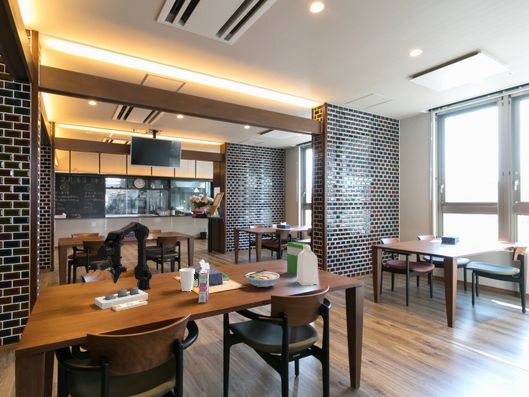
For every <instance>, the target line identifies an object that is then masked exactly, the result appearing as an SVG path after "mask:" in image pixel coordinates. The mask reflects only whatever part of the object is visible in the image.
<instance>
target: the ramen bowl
mask: <svg viewBox="0 0 529 397" xmlns="http://www.w3.org/2000/svg"><path fill="white" fill-rule="evenodd" d="M280 276H281V275H280V274H279V273H278V272H277V273H276V272H273V271H268V269H265V268H264V269H262V270H258V271H252V272H248V273H246V274H245V275H243V278H246V280H247V281H248V282H249V283H250V284H251V285H252V286H255V287H257V288H259V287H266V288H268V287H271V286H273V285H275V284H276V283H277V282H278V280H279V279H280Z"/></svg>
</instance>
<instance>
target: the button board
mask: <svg viewBox="0 0 529 397" xmlns="http://www.w3.org/2000/svg"><path fill="white" fill-rule="evenodd" d="M112 295H114V299H111V300H105V296H106V295H104V296H99V297H95V298H94V304H95V305H96V306H97V307H99V308H100V309H101V310H105V309H111V308H112V306H115V305H119V304H124V303H128V302H133V301H137V300H142V299H143V300H148V299H149V293H147V292H145V291H144V290H138V294H136V295H130V290H129V291H127V296H126V297H121V298H119V297H118V293H114V294H112Z"/></svg>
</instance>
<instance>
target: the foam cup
mask: <svg viewBox="0 0 529 397" xmlns="http://www.w3.org/2000/svg"><path fill="white" fill-rule="evenodd" d="M195 271H196V269H195V268H193V267H185V268H184V267H183V268H181V269H179V277H180V278H179V279H180V289H181V291H182V292H183V291H190V292H192V291H193V288H194V287H193V281H194V274H195ZM191 290H192V291H191Z"/></svg>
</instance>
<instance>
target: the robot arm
mask: <svg viewBox="0 0 529 397" xmlns="http://www.w3.org/2000/svg"><path fill="white" fill-rule="evenodd" d="M130 233H134V238H135V239H136V241H137V264H136V266H134V268H133V270H134V271H133V272H134V273H133V274H134V279H135V280H137V282H136V287H138V290H141V291H144V290H145V291H146V290H149V289H151V287H150V280H152V278H153V274H152V273H151V272H150V267H149V265H148V264H147V239H148V238H149V237H150V236H149V235H150V229H149V227H148V226H146V225H144V224H142V223H140V222H138V221H131V222H130V223H128V224H127V225H125V226H123V227H122V228H120V229H117V230H112V231H109V232H108V233H107V235H106V237H105V239H104V241H103V243H102V244H101V245H100V247H99V248H98V249H97V257H98V258H100V259H105V258H107V259H106V260H103V261H101V262H98V263H97V264H96V266H97V268H98V270H99V271H100V272H102V271H105V270H106V269H108V270H107V272H108V273H109V274H110V276H111V279H112V282H113V284H117V282H118V280H119V279H120V276H121V275H122V274H123V273H127V272H128V267H127V266H124V265H123V263H121V261H122V259H123V256H122V247H123V246H124V244H123V243H122V242H123V240H125V237H126V236H128V235H129V234H130Z"/></svg>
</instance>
